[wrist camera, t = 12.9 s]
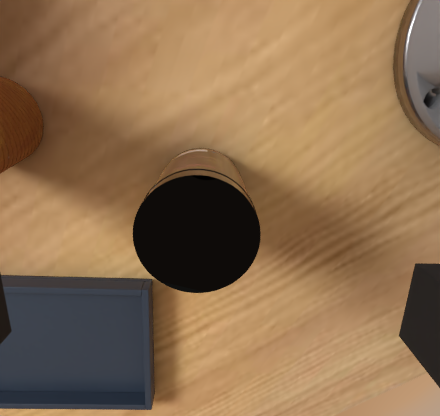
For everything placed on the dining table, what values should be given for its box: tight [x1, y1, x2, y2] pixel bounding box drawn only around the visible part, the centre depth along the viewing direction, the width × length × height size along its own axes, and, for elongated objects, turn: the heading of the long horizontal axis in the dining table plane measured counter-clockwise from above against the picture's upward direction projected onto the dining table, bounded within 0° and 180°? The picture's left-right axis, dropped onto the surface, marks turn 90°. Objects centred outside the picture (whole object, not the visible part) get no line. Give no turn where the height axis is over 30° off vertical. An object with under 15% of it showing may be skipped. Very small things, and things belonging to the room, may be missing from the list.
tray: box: [0, 275, 155, 410], centre depth 31 cm, size 21×13×2 cm, turn 87°
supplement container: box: [133, 148, 260, 293], centre depth 23 cm, size 7×7×10 cm
